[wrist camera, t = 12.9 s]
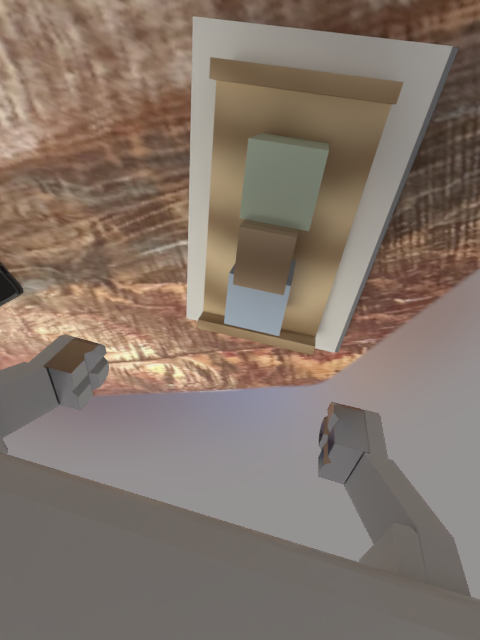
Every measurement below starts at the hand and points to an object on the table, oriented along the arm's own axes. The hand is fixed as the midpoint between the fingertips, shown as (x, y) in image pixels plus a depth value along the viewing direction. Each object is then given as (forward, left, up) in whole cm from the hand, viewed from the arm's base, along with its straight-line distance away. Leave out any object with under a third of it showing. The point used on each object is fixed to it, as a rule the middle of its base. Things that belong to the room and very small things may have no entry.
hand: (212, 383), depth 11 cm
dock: (0, 0, -23) cm, 23 cm away
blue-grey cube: (+4, 0, -17) cm, 17 cm away
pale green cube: (-4, 0, -17) cm, 17 cm away
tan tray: (0, 0, -19) cm, 19 cm away
